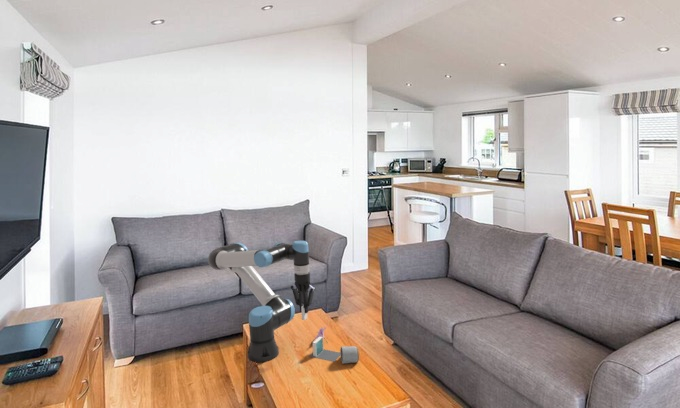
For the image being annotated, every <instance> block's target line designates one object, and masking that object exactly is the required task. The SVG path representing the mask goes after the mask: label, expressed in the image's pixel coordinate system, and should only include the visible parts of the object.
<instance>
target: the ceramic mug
mask: <svg viewBox="0 0 680 408" xmlns="http://www.w3.org/2000/svg"><path fill="white" fill-rule="evenodd" d="M339 351H340V354H341V355H340V361H341V365H345V364H354V363H358V362H359V361H360V350H359V348H358V346H355V345H354V346H353V345H351V346H340V350H339Z"/></svg>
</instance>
